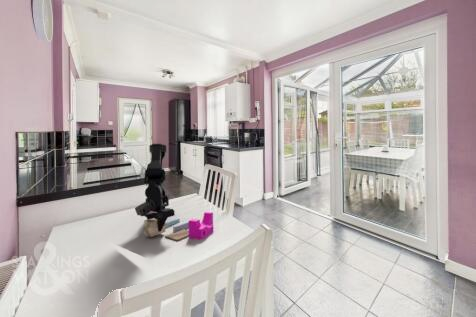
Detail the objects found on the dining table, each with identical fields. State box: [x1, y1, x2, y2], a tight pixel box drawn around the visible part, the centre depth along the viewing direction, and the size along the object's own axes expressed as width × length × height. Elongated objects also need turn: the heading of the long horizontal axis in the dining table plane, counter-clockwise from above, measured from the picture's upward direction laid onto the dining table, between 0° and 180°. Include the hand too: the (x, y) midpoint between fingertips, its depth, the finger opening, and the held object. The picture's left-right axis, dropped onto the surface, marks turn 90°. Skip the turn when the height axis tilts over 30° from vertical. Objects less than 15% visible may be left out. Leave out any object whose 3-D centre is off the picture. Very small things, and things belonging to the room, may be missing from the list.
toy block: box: [188, 211, 214, 240], centre depth 96 cm, size 15×6×8 cm, turn 159°
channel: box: [165, 218, 189, 233], centre depth 103 cm, size 10×10×2 cm
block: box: [143, 218, 166, 238], centre depth 93 cm, size 5×7×6 cm
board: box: [164, 228, 189, 242], centre depth 93 cm, size 8×10×1 cm
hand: (155, 230), depth 93 cm, fingers closed on block, 5 cm apart
